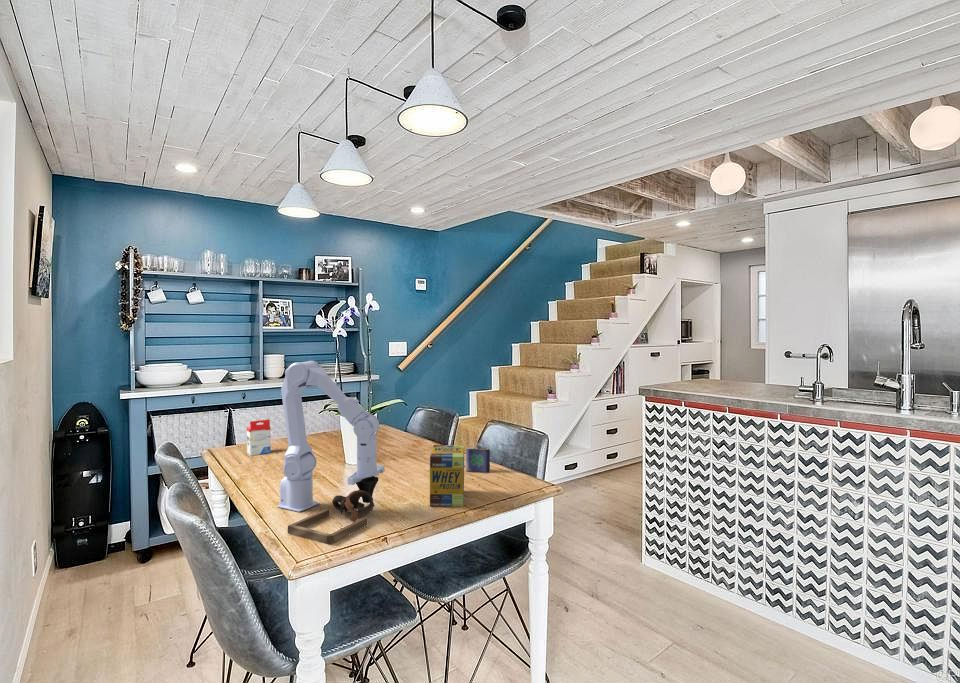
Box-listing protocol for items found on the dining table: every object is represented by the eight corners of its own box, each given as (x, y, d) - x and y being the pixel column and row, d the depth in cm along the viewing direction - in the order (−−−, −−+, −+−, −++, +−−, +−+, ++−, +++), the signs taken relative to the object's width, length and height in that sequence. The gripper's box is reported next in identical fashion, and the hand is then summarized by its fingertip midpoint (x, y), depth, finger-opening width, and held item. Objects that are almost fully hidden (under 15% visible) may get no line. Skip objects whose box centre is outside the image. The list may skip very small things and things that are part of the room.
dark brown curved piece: (373, 509, 149) (378, 490, 145) (366, 535, 141) (372, 515, 137) (333, 501, 147) (337, 481, 144) (324, 526, 139) (329, 506, 135)
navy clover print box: (465, 471, 188) (465, 443, 187) (466, 469, 191) (467, 442, 190) (489, 473, 186) (489, 445, 186) (490, 471, 189) (490, 443, 189)
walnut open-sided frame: (287, 533, 131) (287, 525, 130) (326, 515, 143) (326, 508, 143) (330, 544, 124) (330, 536, 124) (367, 525, 136) (367, 517, 136)
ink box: (267, 450, 218) (267, 417, 218) (270, 453, 214) (270, 419, 214) (246, 453, 213) (246, 419, 212) (249, 456, 209) (249, 421, 209)
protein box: (429, 507, 150) (429, 456, 150) (433, 490, 166) (433, 444, 165) (463, 507, 151) (464, 456, 150) (464, 490, 166) (464, 444, 166)
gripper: (361, 464, 139) (361, 512, 139) (392, 452, 152) (392, 496, 152) (341, 461, 142) (341, 508, 142) (374, 450, 155) (374, 493, 155)
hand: (366, 502), depth 147 cm, fingers closed
